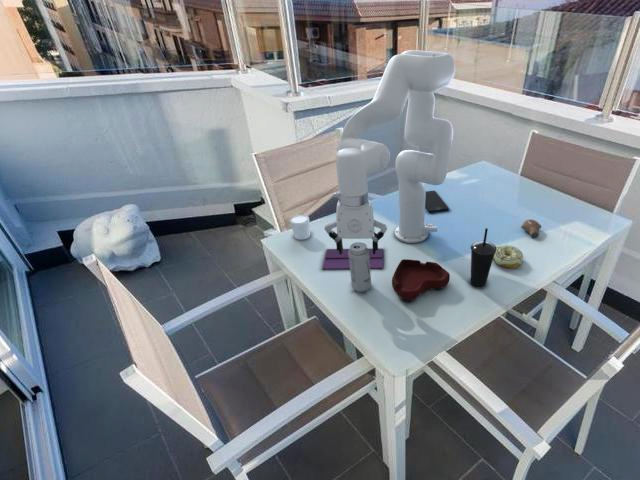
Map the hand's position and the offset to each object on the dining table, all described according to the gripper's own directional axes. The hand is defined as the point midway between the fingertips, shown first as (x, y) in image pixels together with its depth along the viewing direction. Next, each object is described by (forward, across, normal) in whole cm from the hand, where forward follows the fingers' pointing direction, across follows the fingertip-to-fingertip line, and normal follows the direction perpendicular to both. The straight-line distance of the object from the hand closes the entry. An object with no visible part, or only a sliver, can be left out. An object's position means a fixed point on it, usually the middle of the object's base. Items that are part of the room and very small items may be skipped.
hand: (357, 251), depth 112 cm
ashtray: (+14, +17, +2) cm, 22 cm away
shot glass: (+14, -24, +32) cm, 42 cm away
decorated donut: (+13, +49, +14) cm, 53 cm away
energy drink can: (+14, 0, +1) cm, 14 cm away
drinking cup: (+13, +37, +2) cm, 40 cm away
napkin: (+13, -3, +16) cm, 21 cm away
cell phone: (+12, +27, +58) cm, 65 cm away
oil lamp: (+13, +63, +33) cm, 72 cm away
